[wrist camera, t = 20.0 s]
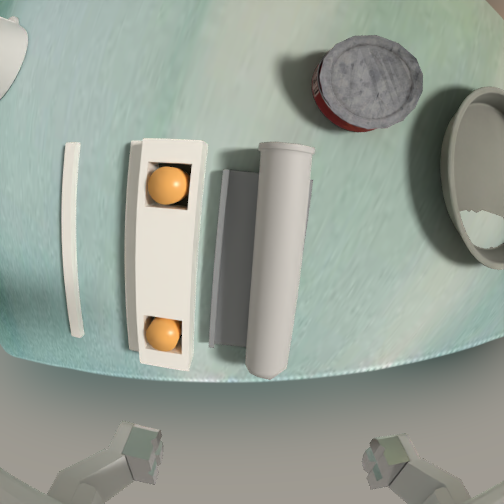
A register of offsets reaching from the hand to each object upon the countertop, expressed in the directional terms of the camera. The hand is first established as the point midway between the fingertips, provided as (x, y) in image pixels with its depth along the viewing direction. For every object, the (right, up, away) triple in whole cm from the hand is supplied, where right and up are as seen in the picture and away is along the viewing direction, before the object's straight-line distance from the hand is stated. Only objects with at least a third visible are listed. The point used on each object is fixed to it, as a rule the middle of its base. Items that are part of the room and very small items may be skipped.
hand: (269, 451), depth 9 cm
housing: (-15, +7, +23) cm, 29 cm away
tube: (-1, +5, +21) cm, 21 cm away
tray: (0, +6, +23) cm, 24 cm away
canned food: (+11, +25, +19) cm, 33 cm away
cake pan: (+33, +18, +21) cm, 43 cm away
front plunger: (-9, +14, +21) cm, 27 cm away
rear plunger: (-10, -1, +25) cm, 27 cm away
